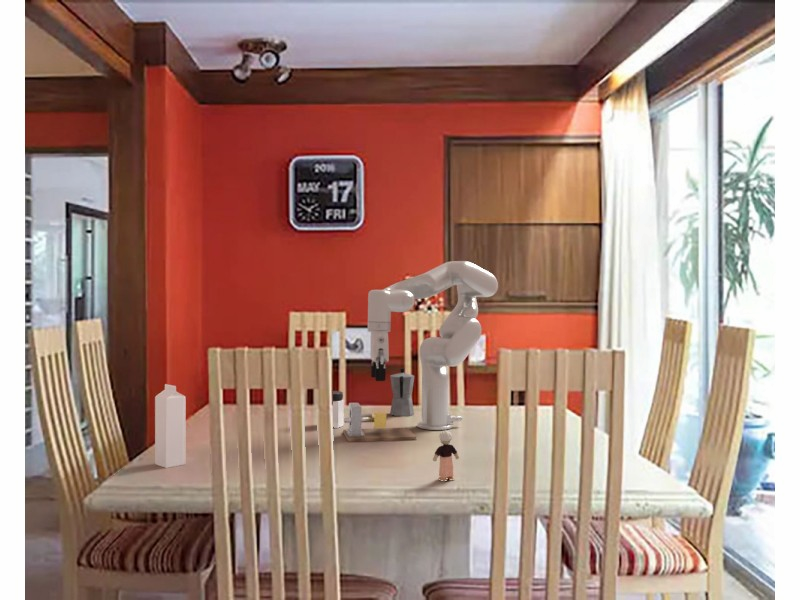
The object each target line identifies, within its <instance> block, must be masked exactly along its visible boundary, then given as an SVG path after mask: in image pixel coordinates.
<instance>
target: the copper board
mask: <svg viewBox="0 0 800 600" xmlns="http://www.w3.org/2000/svg"><path fill="white" fill-rule="evenodd" d="M342 430H343V431H342V432H343V434H344V437H345V438H346V440H347V441H348V443H360V442H364V441H366V442H389V441H390V442H391V441H393V440H395V441H413V440H412V439H416V440H417V436H416V435H415V434H414V433H413V432H412V431H411V430H410V428H408V427H386V428H361V430H362V432H363V433H364V435H365V437H349V436H348V434H347V433H346V429H342ZM393 442H394V441H393Z"/></svg>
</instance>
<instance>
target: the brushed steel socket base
mask: <svg viewBox="0 0 800 600" xmlns="http://www.w3.org/2000/svg"><path fill="white" fill-rule="evenodd" d="M348 418H351V423H348V428H346V429H345V430H346V433H347V434H348V436H349V437H365V435H364V433H363V432H362V430H361V429H362V422H361V418H362V406H361V405H360V403H359V402H349V403H348Z"/></svg>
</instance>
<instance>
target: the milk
mask: <svg viewBox="0 0 800 600" xmlns="http://www.w3.org/2000/svg"><path fill="white" fill-rule="evenodd" d="M186 404H187V403H186V396H185V395H184V394H182V393H180V392H178V391H177V386H176V385H172V384H167V383H165V384H164V389H163V390H162V391H161V392H160V393H158V394H156V396H155V397H154V414H155V415H154V431H155V433H154V459H155V460H154V465H156V466H159V467H162V468H165V469H169V468H174V467H178V466H179V467H180V466H185V465H186V452H187V451H186V448H187V447H186V442H187V441H186V439H187V438H186V428H187V427H186V420H187V419H186V418H187V417H186V413H187V412H186V406H187V405H186Z"/></svg>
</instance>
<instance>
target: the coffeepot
mask: <svg viewBox="0 0 800 600" xmlns="http://www.w3.org/2000/svg"><path fill="white" fill-rule="evenodd" d="M399 370H400V372H398V373H394V374H391V375H390V376H389V377H390V384H391V390H392V391H391V392H392V393H393V398H392V399H391V405H390V412H389V414H390V415H391V416H392V415H394V416H393V417H400V416H405V417H413V416H414V414H415V412H414V406H413V399H412V393H413V388H414V381H415V375H414V374H409V373H406V372H405V368H404V367H401V368H400V369H399Z"/></svg>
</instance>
